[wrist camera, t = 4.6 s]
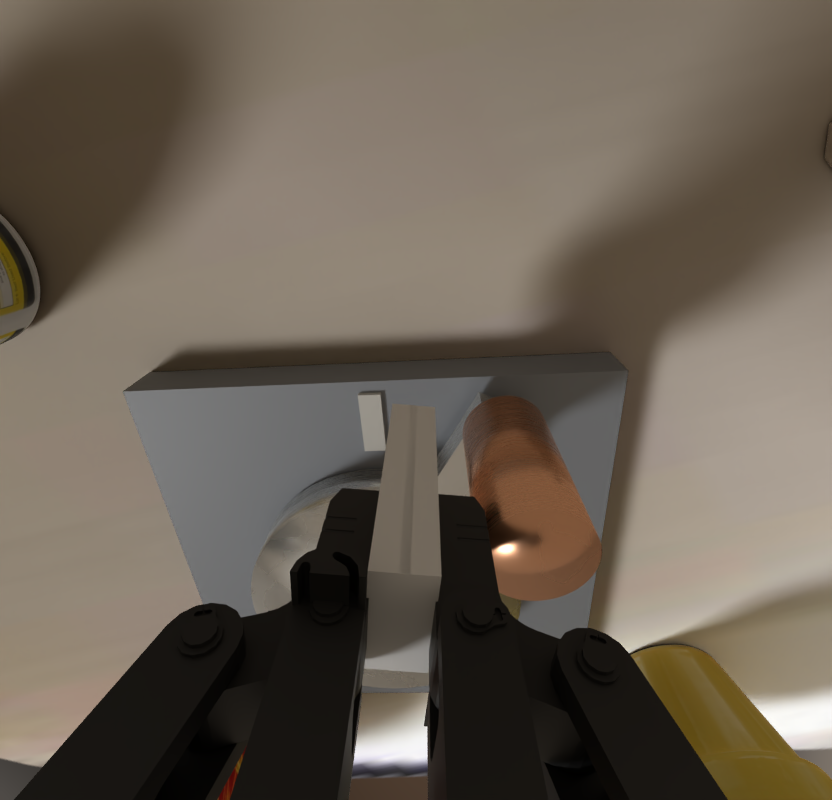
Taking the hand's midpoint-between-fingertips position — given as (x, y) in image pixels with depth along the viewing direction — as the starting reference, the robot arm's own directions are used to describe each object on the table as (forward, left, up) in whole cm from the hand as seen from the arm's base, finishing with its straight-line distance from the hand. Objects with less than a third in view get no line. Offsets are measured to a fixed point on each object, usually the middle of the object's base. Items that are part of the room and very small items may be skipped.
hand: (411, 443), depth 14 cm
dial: (0, -7, -4) cm, 8 cm away
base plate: (-2, -10, -6) cm, 12 cm away
